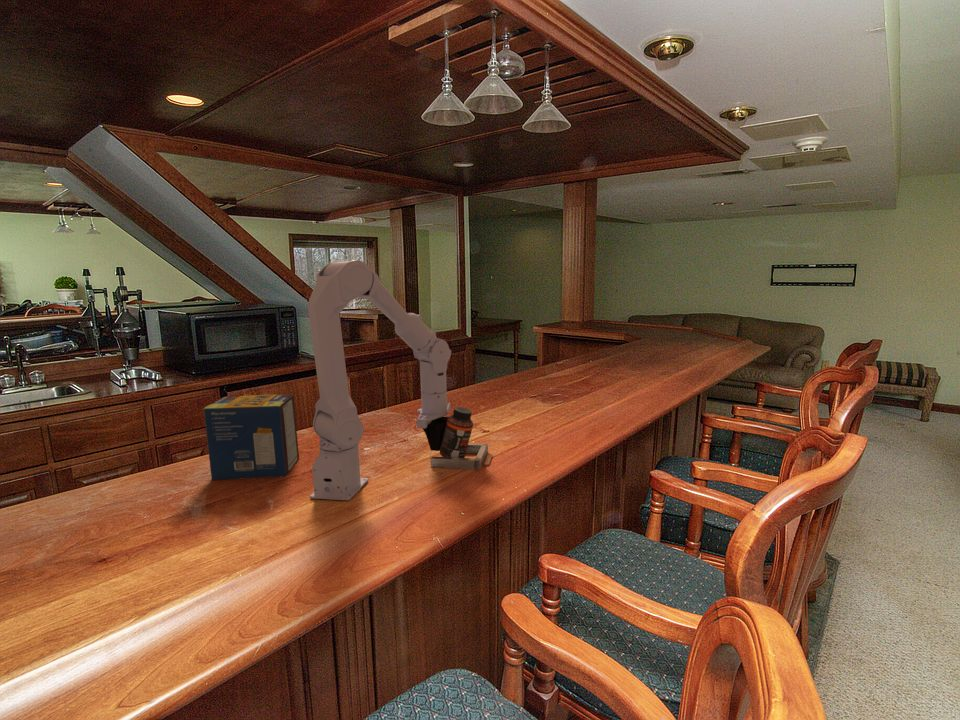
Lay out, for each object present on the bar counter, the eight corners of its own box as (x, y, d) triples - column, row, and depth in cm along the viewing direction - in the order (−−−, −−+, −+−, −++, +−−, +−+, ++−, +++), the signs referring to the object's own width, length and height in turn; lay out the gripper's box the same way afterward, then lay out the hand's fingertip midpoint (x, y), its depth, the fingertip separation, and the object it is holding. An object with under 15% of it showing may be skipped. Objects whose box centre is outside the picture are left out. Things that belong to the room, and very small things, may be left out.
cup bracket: (486, 470, 105) (486, 461, 105) (430, 467, 107) (430, 458, 107) (494, 452, 116) (493, 444, 115) (442, 450, 118) (442, 442, 117)
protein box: (230, 462, 113) (223, 395, 110) (299, 458, 114) (294, 393, 111) (210, 481, 102) (201, 408, 100) (286, 476, 104) (280, 405, 101)
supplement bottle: (460, 465, 108) (472, 417, 106) (435, 456, 109) (446, 409, 107) (467, 455, 114) (479, 410, 111) (443, 447, 115) (454, 402, 113)
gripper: (430, 383, 118) (432, 438, 120) (402, 398, 104) (405, 459, 107) (458, 384, 116) (459, 440, 118) (433, 400, 102) (435, 462, 105)
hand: (435, 449), depth 112 cm, fingers closed, pressing on supplement bottle
